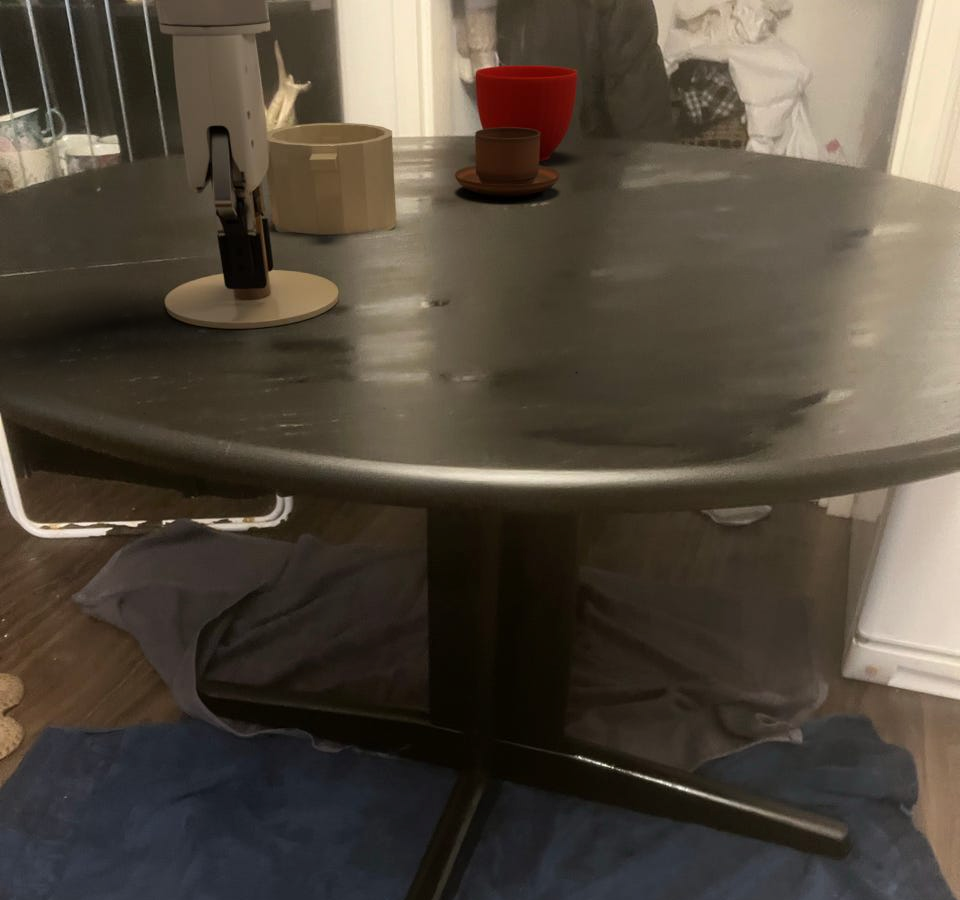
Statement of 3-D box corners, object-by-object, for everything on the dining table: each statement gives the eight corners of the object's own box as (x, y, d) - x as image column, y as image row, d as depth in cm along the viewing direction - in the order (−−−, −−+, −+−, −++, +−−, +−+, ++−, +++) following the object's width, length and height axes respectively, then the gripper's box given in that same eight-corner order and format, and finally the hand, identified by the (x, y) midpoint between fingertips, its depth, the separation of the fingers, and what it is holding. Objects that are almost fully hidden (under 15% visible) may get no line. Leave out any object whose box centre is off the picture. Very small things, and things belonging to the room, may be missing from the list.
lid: (150, 338, 74) (130, 240, 69) (184, 284, 85) (168, 196, 80) (334, 334, 74) (325, 236, 70) (344, 281, 85) (336, 193, 81)
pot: (264, 248, 94) (252, 151, 89) (283, 205, 108) (273, 119, 103) (395, 246, 94) (390, 149, 89) (397, 203, 109) (393, 118, 104)
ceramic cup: (563, 143, 138) (567, 61, 132) (579, 166, 125) (584, 77, 119) (472, 144, 138) (471, 62, 132) (478, 168, 124) (478, 78, 118)
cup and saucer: (450, 182, 118) (448, 125, 114) (547, 179, 119) (549, 122, 115) (461, 205, 108) (461, 143, 104) (568, 201, 109) (571, 140, 106)
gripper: (180, -1, 74) (219, 251, 85) (129, 16, 60) (183, 313, 71) (280, -2, 74) (306, 250, 85) (252, 15, 61) (287, 311, 72)
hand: (250, 276), depth 78 cm, fingers open, 3 cm apart
